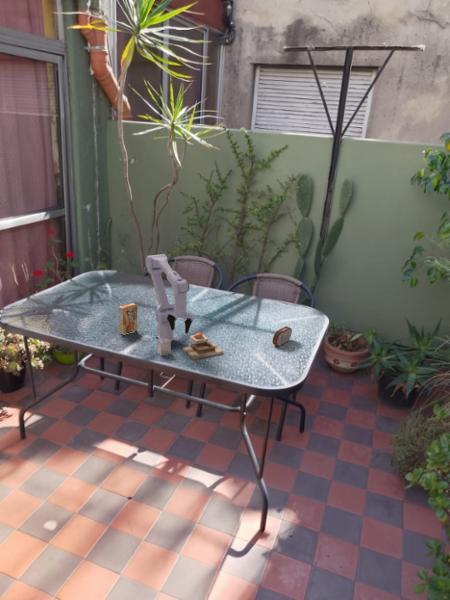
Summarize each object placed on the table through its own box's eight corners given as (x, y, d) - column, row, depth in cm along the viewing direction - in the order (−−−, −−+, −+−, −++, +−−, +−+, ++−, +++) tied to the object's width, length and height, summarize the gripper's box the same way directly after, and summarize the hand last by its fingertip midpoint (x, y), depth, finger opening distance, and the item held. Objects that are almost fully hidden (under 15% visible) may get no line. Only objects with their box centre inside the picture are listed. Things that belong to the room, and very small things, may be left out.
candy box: (132, 329, 241) (132, 302, 236) (137, 332, 238) (137, 304, 233) (119, 333, 235) (118, 306, 229) (123, 336, 232) (123, 308, 227)
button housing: (189, 341, 231) (189, 335, 230) (201, 338, 234) (201, 333, 233) (195, 346, 225) (196, 341, 224) (208, 344, 229) (208, 338, 228)
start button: (194, 339, 230) (194, 333, 229) (200, 338, 232) (200, 332, 230) (197, 342, 227) (197, 335, 226) (203, 341, 229) (203, 334, 228)
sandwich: (286, 338, 241) (288, 323, 238) (292, 340, 239) (293, 325, 236) (271, 346, 230) (272, 331, 227) (276, 348, 228) (278, 333, 225)
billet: (157, 353, 216) (157, 339, 214) (167, 351, 219) (167, 338, 216) (160, 356, 213) (161, 343, 211) (170, 354, 216) (170, 341, 213)
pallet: (182, 349, 221) (182, 343, 220) (211, 343, 229) (211, 338, 228) (194, 359, 211) (194, 353, 210) (223, 353, 219) (223, 347, 218)
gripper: (162, 304, 213) (162, 331, 218) (190, 310, 208) (189, 337, 213) (170, 300, 219) (169, 326, 224) (196, 305, 214) (196, 331, 219)
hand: (179, 331), depth 219 cm, fingers open, 7 cm apart
